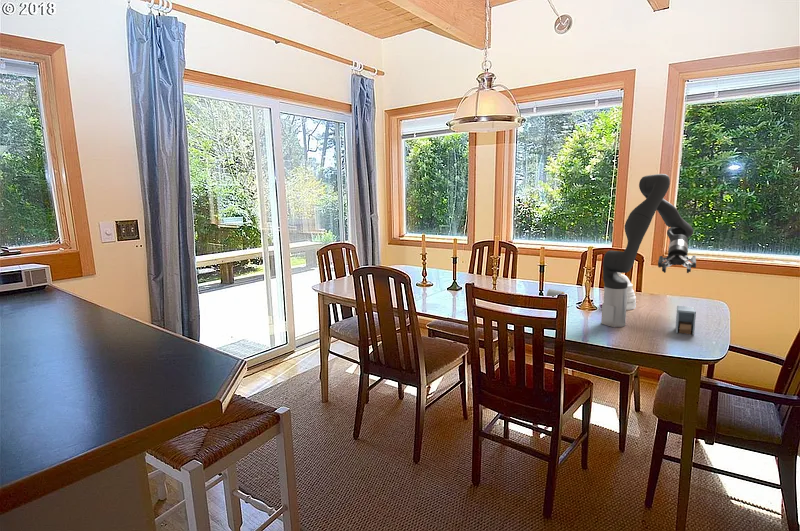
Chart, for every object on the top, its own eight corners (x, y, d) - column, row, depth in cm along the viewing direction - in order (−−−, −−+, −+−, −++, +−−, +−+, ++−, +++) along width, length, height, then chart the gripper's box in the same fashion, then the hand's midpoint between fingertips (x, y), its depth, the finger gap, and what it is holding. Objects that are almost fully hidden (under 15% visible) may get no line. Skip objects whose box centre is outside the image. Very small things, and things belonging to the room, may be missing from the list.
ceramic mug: (561, 306, 224) (562, 291, 222) (545, 304, 228) (546, 290, 227) (566, 301, 232) (567, 287, 231) (551, 299, 237) (551, 286, 236)
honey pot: (603, 306, 219) (604, 272, 216) (613, 301, 228) (615, 268, 224) (629, 311, 210) (631, 275, 206) (639, 305, 218) (641, 271, 215)
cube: (690, 334, 176) (691, 325, 175) (679, 333, 178) (679, 323, 177) (690, 331, 179) (690, 322, 178) (678, 330, 181) (679, 321, 180)
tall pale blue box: (694, 335, 174) (696, 311, 172) (676, 333, 177) (677, 310, 176) (692, 330, 180) (694, 307, 178) (675, 328, 183) (677, 305, 182)
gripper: (659, 244, 199) (656, 264, 189) (696, 243, 191) (695, 264, 180) (660, 257, 203) (657, 277, 192) (696, 257, 195) (695, 278, 184)
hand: (676, 271), depth 186 cm, fingers open, 8 cm apart
